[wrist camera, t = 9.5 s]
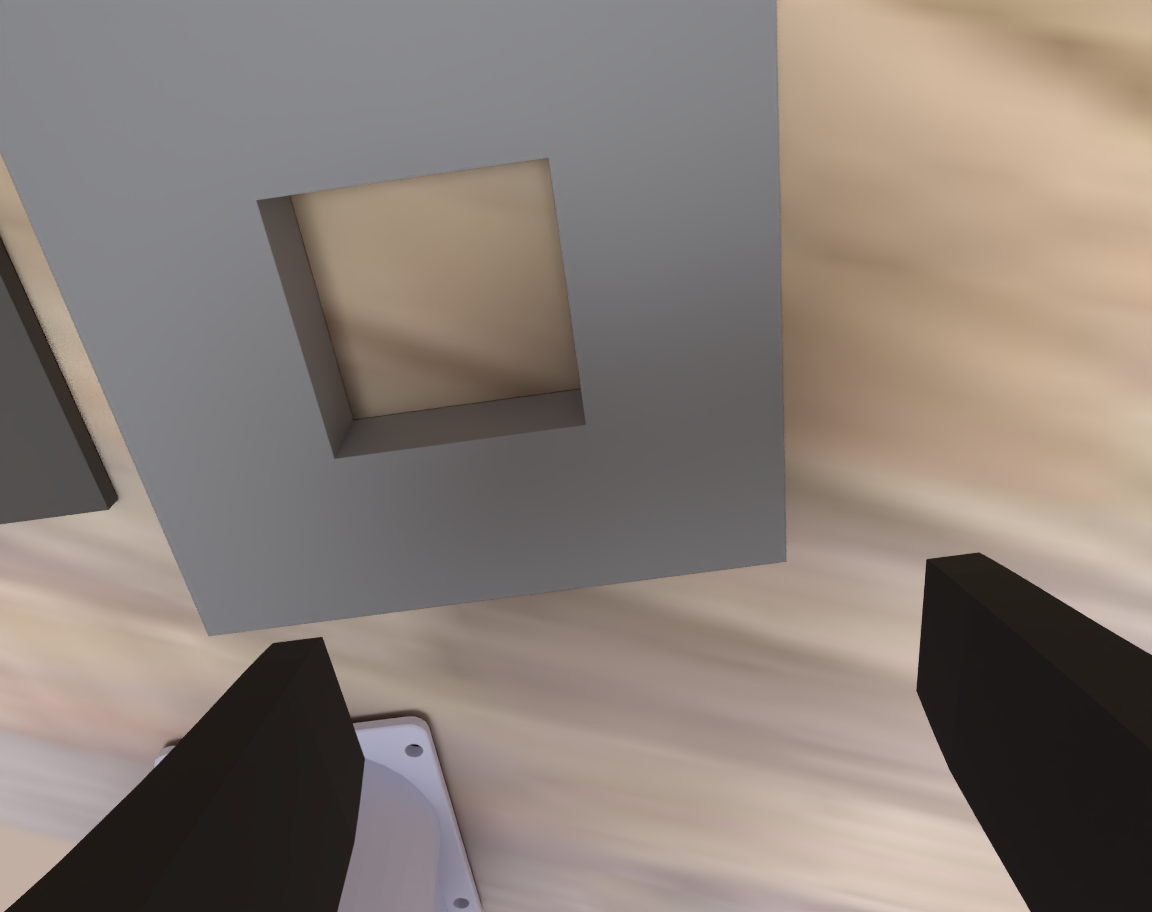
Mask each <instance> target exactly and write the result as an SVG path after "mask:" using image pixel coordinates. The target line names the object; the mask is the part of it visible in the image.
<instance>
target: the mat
mask: <svg viewBox="0 0 1152 912" xmlns="http://www.w3.org/2000/svg"><path fill="white" fill-rule="evenodd" d="M117 500H118V498H117V496H116V494H115V492H114V489H113V487H112V485H111V483H110V481H109V478H108V476H107V474H106V472H105V470H104V467H103V465H102V463H101V461H100V458H99V456H98V454H97V452H96V450H95V447H94V445H93V443H92V441H91V439H90V436H89V434H88V432H87V430H86V427H85V425H84V423H83V421H82V419H81V416H80V414H79V412H78V410H77V408H76V405H75V403H74V401H73V399H72V396H71V394H70V392H69V390H68V388H67V385H66V383H65V381H64V379H63V377H62V374H61V372H60V370H59V368H58V365H57V363H56V361H55V359H54V357H53V354H52V352H51V350H50V348H49V346H48V343H47V341H46V339H45V337H44V334H43V332H42V330H41V328H40V326H39V323H38V321H37V319H36V317H35V315H34V312H33V310H32V308H31V306H30V304H29V301H28V299H27V297H26V295H25V292H24V290H23V288H22V286H21V284H20V281H19V279H18V277H17V275H16V273H15V270H14V268H13V266H12V264H11V261H10V259H9V257H8V255H7V253H6V250H5V248H4V246H3V244H2V242H1V239H0V524H6V523H13V522H20V521H28V520H35V519H43V518H50V517H58V516H65V515H73V514H80V513H88V512H95V511H102V510H109V509H110V507H111V506H112V505H113V504H114V503H115V502H116V501H117Z"/></svg>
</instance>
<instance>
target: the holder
mask: <svg viewBox="0 0 1152 912" xmlns="http://www.w3.org/2000/svg"><path fill="white" fill-rule="evenodd" d="M0 153H1V156H2V158H3V160H4V163H5V165H6V167H7V170H8V172H9V174H10V176H11V179H12V181H13V183H14V186H15V188H16V190H17V193H18V195H19V197H20V200H21V202H22V204H23V207H24V209H25V211H26V214H27V216H28V218H29V221H30V223H31V225H32V228H33V230H34V232H35V234H36V237H37V239H38V241H39V244H40V246H41V248H42V251H43V253H44V255H45V258H46V260H47V262H48V265H49V267H50V269H51V272H52V274H53V276H54V279H55V281H56V283H57V286H58V288H59V290H60V292H61V295H62V297H63V299H64V302H65V304H66V306H67V309H68V311H69V313H70V316H71V318H72V320H73V323H74V325H75V327H76V330H77V332H78V334H79V337H80V339H81V341H82V344H83V346H84V348H85V350H86V353H87V355H88V357H89V360H90V362H91V364H92V367H93V369H94V371H95V374H96V376H97V378H98V381H99V383H100V385H101V388H102V390H103V392H104V395H105V397H106V399H107V401H108V404H109V406H110V408H111V411H112V413H113V415H114V418H115V420H116V422H117V425H118V427H119V429H120V432H121V434H122V436H123V439H124V441H125V443H126V446H127V448H128V450H129V453H130V455H131V457H132V459H133V462H134V464H135V466H136V469H137V471H138V473H139V476H140V478H141V480H142V483H143V485H144V487H145V490H146V492H147V494H148V497H149V499H150V501H151V504H152V506H153V508H154V511H155V513H156V515H157V517H158V520H159V522H160V524H161V527H162V529H163V531H164V534H165V536H166V538H167V541H168V543H169V545H170V548H171V550H172V552H173V555H174V557H175V559H176V562H177V564H178V566H179V569H180V571H181V573H182V575H183V578H184V580H185V582H186V585H187V587H188V589H189V592H190V594H191V596H192V599H193V601H194V603H195V606H196V608H197V610H198V613H199V615H200V617H201V620H202V622H203V624H204V626H205V629H206V631H207V633H208V636H214V635H221V634H229V633H237V632H245V631H252V630H260V629H268V628H276V627H283V626H291V625H299V624H307V623H314V622H322V621H330V620H338V619H345V618H353V617H361V616H369V615H376V614H384V613H392V612H400V611H407V610H415V609H423V608H431V607H438V606H446V605H454V604H462V603H469V602H477V601H485V600H493V599H500V598H508V597H516V596H524V595H531V594H539V593H547V592H555V591H562V590H570V589H578V588H586V587H593V586H601V585H609V584H617V583H624V582H632V581H640V580H648V579H655V578H663V577H671V576H679V575H686V574H694V573H702V572H710V571H717V570H725V569H733V568H741V567H748V566H756V565H764V564H772V563H779V562H786V514H785V459H784V403H783V347H782V291H781V235H780V179H779V123H778V67H777V11H776V0H0ZM544 158H548V159H549V166H550V173H551V180H552V187H553V194H554V201H555V209H556V216H557V223H558V230H559V237H560V244H561V251H562V258H563V265H564V273H565V280H566V287H567V294H568V301H569V308H570V315H571V322H572V329H573V337H574V344H575V351H576V358H577V365H578V372H579V379H580V386H581V389H577V390H570V391H563V392H555V393H548V394H541V395H533V396H526V397H519V398H511V399H504V400H497V401H489V402H482V403H475V404H467V405H460V406H453V407H445V408H438V409H431V410H423V411H416V412H409V413H401V414H394V415H387V416H379V417H372V418H365V419H357V420H353V417H352V414H351V410H350V407H349V403H348V400H347V396H346V393H345V389H344V386H343V382H342V379H341V375H340V372H339V368H338V364H337V361H336V357H335V354H334V350H333V347H332V343H331V340H330V336H329V333H328V329H327V326H326V322H325V319H324V315H323V312H322V308H321V305H320V301H319V298H318V294H317V291H316V287H315V283H314V280H313V276H312V273H311V269H310V266H309V262H308V259H307V255H306V252H305V248H304V245H303V241H302V238H301V234H300V231H299V227H298V224H297V220H296V217H295V213H294V210H293V206H292V203H291V199H290V195H296V194H303V193H310V192H316V191H323V190H330V189H337V188H344V187H351V186H358V185H365V184H372V183H379V182H385V181H392V180H399V179H406V178H413V177H420V176H427V175H434V174H441V173H448V172H455V171H461V170H468V169H475V168H482V167H489V166H496V165H503V164H510V163H517V162H524V161H530V160H537V159H544Z"/></svg>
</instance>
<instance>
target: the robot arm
mask: <svg viewBox="0 0 1152 912" xmlns="http://www.w3.org/2000/svg"><path fill="white" fill-rule="evenodd" d="M916 691H917V693H918V696H919V698H920V701H921V703H922V706H923V708H924V711H925V713H926V716H927V718H928V720H929V723H930V725H931V728H932V730H933V733H934V735H935V737H936V740H937V742H938V744H939V747H940V749H941V751H942V754H943V756H944V758H945V760H946V763H947V765H948V767H949V770H950V771H951V773H952V775H953V777H954V779H955V780H956V782H957V784H958V786H959V788H960V789H961V791H962V793H963V795H964V797H965V798H966V800H967V802H968V804H969V805H970V807H971V809H972V811H973V812H974V814H975V816H976V818H977V819H978V821H979V823H980V825H981V826H982V828H983V830H984V832H985V833H986V835H987V837H988V839H989V840H990V842H991V844H992V846H993V847H994V849H995V851H996V853H997V854H998V856H999V858H1000V859H1001V861H1002V863H1003V865H1004V866H1005V868H1006V870H1007V872H1008V873H1009V875H1010V877H1011V878H1012V880H1013V882H1014V884H1015V885H1016V887H1017V889H1018V891H1019V892H1020V894H1021V896H1022V897H1023V899H1024V901H1025V903H1026V904H1027V906H1028V908H1029V910H1030V911H1031V912H1152V655H1151V654H1149V653H1147V652H1145V651H1144V650H1142V649H1140V648H1139V647H1137V646H1135V645H1133V644H1132V643H1130V642H1128V641H1127V640H1125V639H1123V638H1122V637H1120V636H1118V635H1116V634H1115V633H1113V632H1111V631H1110V630H1108V629H1106V628H1105V627H1103V626H1101V625H1100V624H1098V623H1096V622H1095V621H1093V620H1091V619H1090V618H1088V617H1086V616H1085V615H1083V614H1082V613H1080V612H1078V611H1077V610H1075V609H1073V608H1072V607H1070V606H1068V605H1067V604H1065V603H1063V602H1062V601H1060V600H1059V599H1057V598H1055V597H1054V596H1052V595H1050V594H1049V593H1047V592H1045V591H1044V590H1042V589H1041V588H1039V587H1037V586H1036V585H1034V584H1032V583H1031V582H1029V581H1027V580H1026V579H1024V578H1022V577H1021V576H1019V575H1017V574H1016V573H1014V572H1012V571H1011V570H1009V569H1007V568H1006V567H1004V566H1002V565H1001V564H999V563H997V562H995V561H994V560H992V559H990V558H988V557H986V556H985V555H983V554H981V553H972V554H964V555H956V556H948V557H940V558H933V559H927V560H926V573H925V586H924V599H923V612H922V625H921V638H920V651H919V664H918V677H917V690H916ZM411 744H417V745H419V747H414V746H411ZM154 766H155V768H154V769H153V770H152V771H151V772H150V773H149V774H148V775H147V776H146V777H145V778H144V779H143V780H142V781H141V782H140V783H139V784H138V785H137V786H136V787H135V788H134V789H133V790H132V791H131V792H130V793H129V794H128V795H127V796H126V797H125V798H124V799H123V800H122V801H121V802H120V803H119V804H118V805H117V806H116V807H115V808H114V809H113V810H112V811H111V812H110V813H109V814H108V815H107V816H106V817H105V818H104V819H103V820H102V821H101V822H100V823H99V824H98V825H97V826H96V827H95V828H93V829H92V830H91V831H90V832H89V833H88V834H87V835H86V836H85V837H84V838H83V839H82V840H81V841H80V842H79V843H78V844H77V845H76V846H75V847H74V848H73V849H72V850H71V851H70V852H69V853H68V854H67V855H66V856H65V857H64V858H63V859H62V860H61V861H60V862H59V863H58V864H57V865H55V866H54V867H53V868H52V869H51V870H50V871H49V872H48V873H47V874H46V875H45V876H43V877H42V878H41V879H40V880H39V881H38V882H37V883H36V884H35V885H34V886H32V887H31V888H30V889H29V890H28V891H27V892H26V893H25V894H24V895H22V896H21V897H20V898H19V899H18V900H17V901H16V902H15V903H14V904H12V905H11V906H10V907H9V908H8V909H7V910H6V911H4V912H483V910H482V907H481V903H480V900H479V896H478V893H477V890H476V886H475V883H474V879H473V876H472V872H471V869H470V866H469V862H468V859H467V855H466V852H465V849H464V845H463V842H462V838H461V835H460V831H459V828H458V825H457V821H456V818H455V814H454V811H453V808H452V804H451V801H450V797H449V794H448V791H447V787H446V784H445V780H444V777H443V773H442V770H441V767H440V763H439V760H438V756H437V753H436V750H435V746H434V743H433V739H432V736H431V732H430V729H429V726H428V725H427V723H426V722H425V721H424V720H422V719H421V718H418V717H412V716H407V717H399V718H391V719H383V720H375V721H367V722H359V723H352V720H351V717H350V715H349V712H348V709H347V706H346V703H345V700H344V697H343V695H342V692H341V689H340V686H339V683H338V680H337V677H336V675H335V672H334V669H333V666H332V663H331V660H330V657H329V655H328V652H327V649H326V646H325V643H324V640H323V637H318V638H310V639H302V640H294V641H287V642H279V643H273V644H271V645H270V646H269V647H268V648H267V649H266V650H265V651H264V652H263V653H262V654H261V655H260V656H259V657H258V658H257V659H256V660H255V661H254V663H253V664H252V665H251V666H250V667H249V668H248V669H247V670H246V671H245V672H244V673H243V674H242V675H241V676H240V677H239V678H238V679H237V681H236V682H235V683H234V684H233V685H232V686H231V687H230V688H229V689H228V690H227V691H226V692H225V693H224V695H223V696H222V697H221V698H220V699H219V700H218V701H217V702H216V703H215V704H214V705H213V706H212V707H211V709H210V710H209V711H208V712H207V713H206V714H205V715H204V716H203V717H202V718H201V719H200V720H199V722H198V723H197V724H196V725H195V726H194V727H193V728H192V729H191V730H190V731H189V732H188V733H187V734H186V735H185V736H184V737H183V738H182V739H181V740H180V742H179V743H178V744H177V745H176V746H169V747H166V748H163V749H162V750H161V751H160V752H159V754H158V756H157V758H156V760H155V763H154Z"/></svg>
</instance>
